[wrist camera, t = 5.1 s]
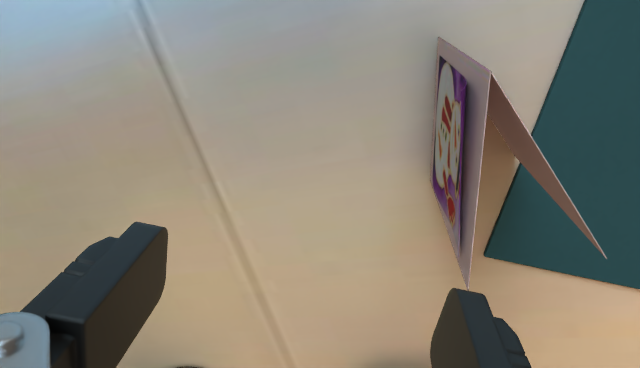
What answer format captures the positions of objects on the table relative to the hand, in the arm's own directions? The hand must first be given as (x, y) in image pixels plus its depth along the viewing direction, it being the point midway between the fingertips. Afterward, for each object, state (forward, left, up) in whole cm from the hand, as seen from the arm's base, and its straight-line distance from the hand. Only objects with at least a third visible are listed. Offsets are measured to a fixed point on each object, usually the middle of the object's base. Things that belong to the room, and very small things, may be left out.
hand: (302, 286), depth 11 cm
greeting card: (+10, 0, -26) cm, 28 cm away
